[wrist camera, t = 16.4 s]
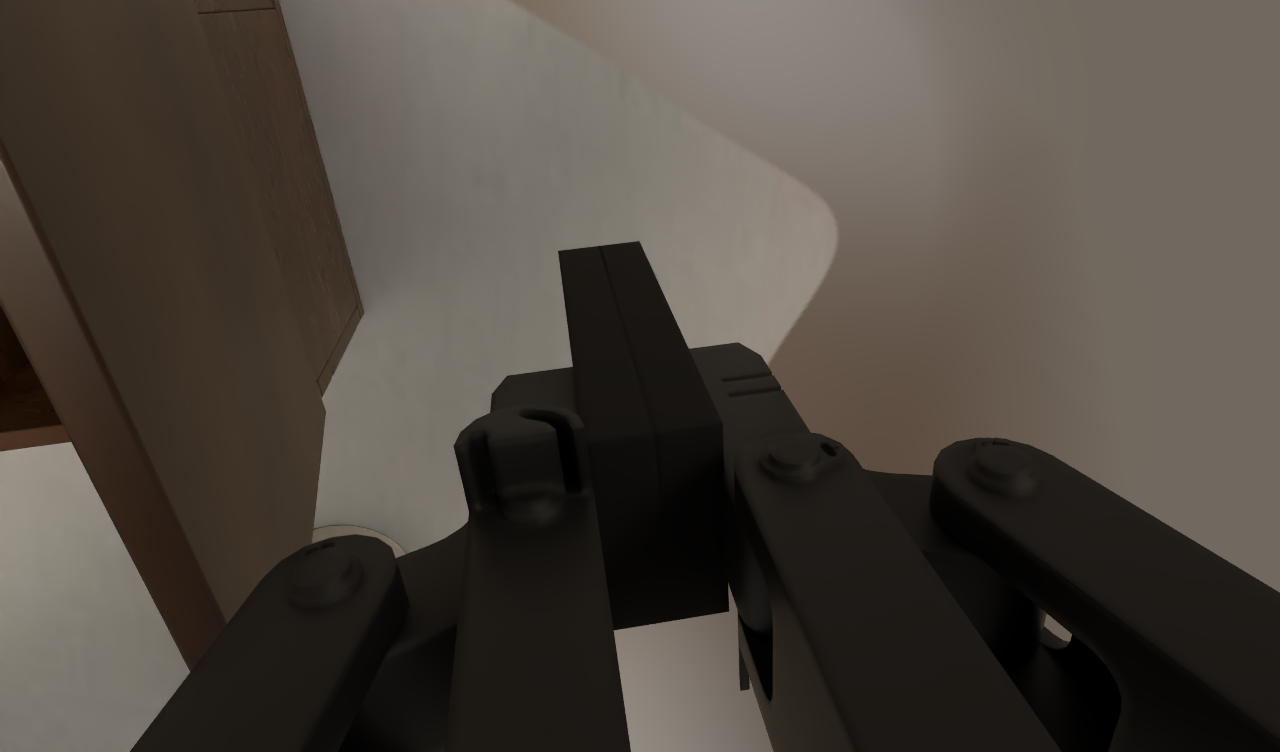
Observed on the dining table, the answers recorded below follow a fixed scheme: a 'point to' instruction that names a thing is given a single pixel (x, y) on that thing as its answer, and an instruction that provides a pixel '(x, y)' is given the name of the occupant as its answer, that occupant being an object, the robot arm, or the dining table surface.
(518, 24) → the dining table surface
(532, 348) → the dining table surface
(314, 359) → the chest
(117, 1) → the lid
